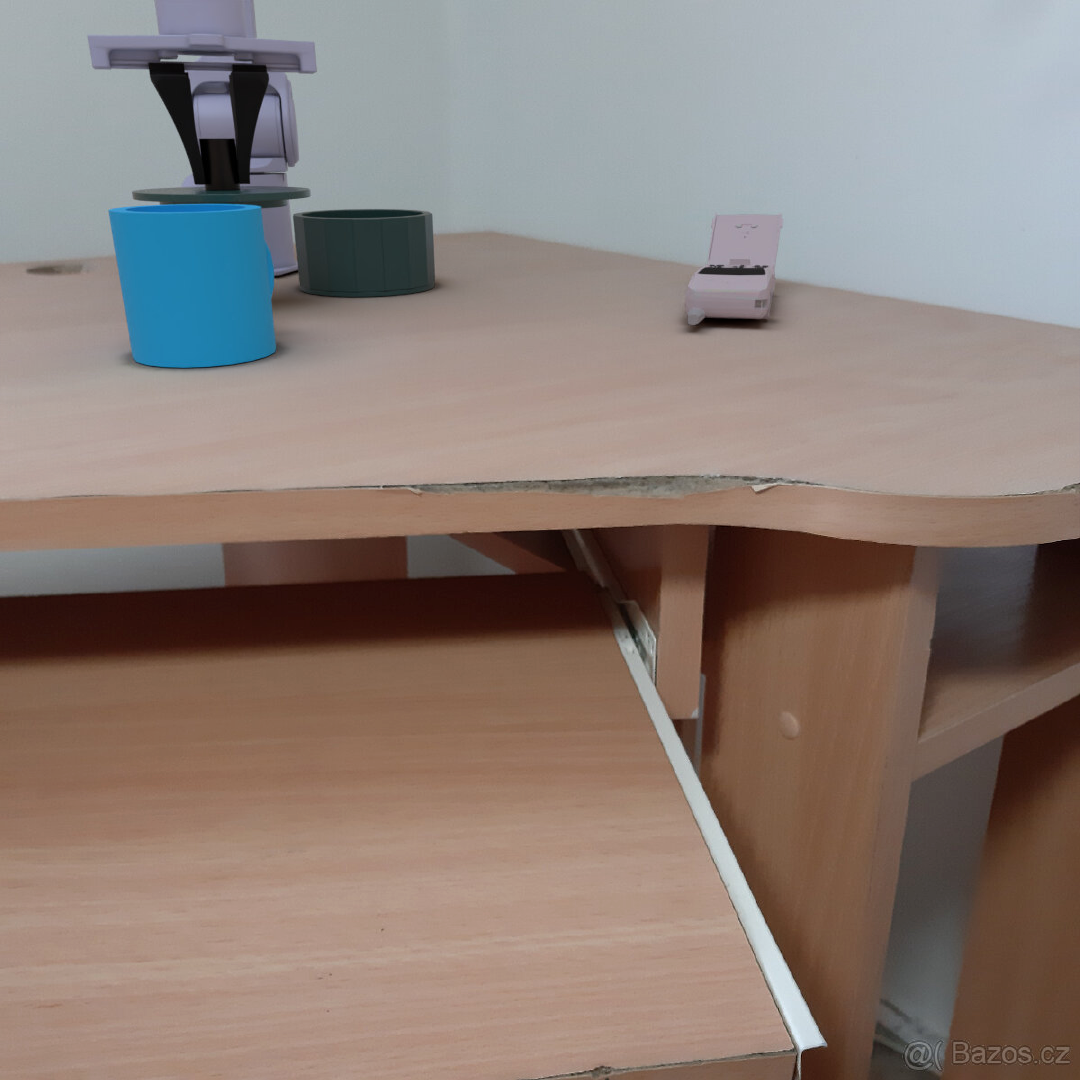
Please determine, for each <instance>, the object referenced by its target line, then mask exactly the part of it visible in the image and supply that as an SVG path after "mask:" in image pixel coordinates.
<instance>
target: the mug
mask: <svg viewBox="0 0 1080 1080" xmlns="http://www.w3.org/2000/svg"><path fill="white" fill-rule="evenodd" d="M107 212H108V216H109V217H108V218H109V223H110V230H111V234H112V239H113V240H112V241H113V247H114V248H113V249H114V252H115V253H114V254H115V260H116V264H117V272H118V278H119V283H120V289H121V295H122V301H123V307H124V313H125V319H126V326H127V331H128V337H129V343H130V349H131V356H132V359H133V360H134V361H135V362H136V363H139V364H141V365H145V366H151V367H152V366H153V367H158V368H159V367H160V368H178V369H179V368H182V369H188V368H189V369H190V368H210V367H220V366H230V365H235V364H236V365H238V364H242V363H247V362H248V363H249V362H253V361H256V360H259V359H263V358H267V357H269V356H271V355H272V354H274V353H276V350H277V342H276V334H275V331H276V330H275V324H274V323H275V322H274V314H273V304H272V299H273V292H274V288H275V276H274V266H273V261H272V257H271V252H270V250H269V248H268V246H267V243H266V241H265V238H264V229H263V219H262V210H261V207H260V206H256V205H244V204H170V205H160V204H151V205H150V204H149V205H148V204H147V205H131V206H122V207H116V208H115V207H114V208H110V209H108V210H107Z"/></svg>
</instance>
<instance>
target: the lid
mask: <svg viewBox="0 0 1080 1080" xmlns="http://www.w3.org/2000/svg"><path fill="white" fill-rule="evenodd" d="M199 143H200V151H201V158H202V163H203V168H204V175H205V183H206V185H205V187H181V186H179V187H178V186H177V187H160V188H145V189H136V190H133V191H131V194H132V199H133V200H134V201H139V202H153V203H159V205H170V204H244V205H256V206H260V207H261V209H263V208H275V207H283V206H287V205H288V203H287V200H289V201H290V200H298V199H299V200H300V199H306V198H310V197H311V196H312V193H311V189H310V188H308V187H302V186H301V187H299V186H288V187H278V186H240V183H239V175H238V164H237V155H236V146H235V139H199Z"/></svg>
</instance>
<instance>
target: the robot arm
mask: <svg viewBox="0 0 1080 1080" xmlns="http://www.w3.org/2000/svg"><path fill="white" fill-rule="evenodd" d="M154 7H155V15H156V22H157V28H158V34H87V42H88V48H89V49H88V50H89V54H90V60H91V66H92V68H93V69H94V70H110V71H111V70H148V72H149V73H148V74H149V78H150V82H151V83H152V85H153V87H154V90H156V92H157V93H158V96H159V98H160V99H161V101H162V103H163V105H164V106H165V108H166V110H167V112H168V115H169V116H170V118H171V120H172V123H173V124H174V127H175V129H176V131H177V133H178V136H179V138H180V141H181V143H182V145H183V148H184V151H185V153H186V157H187V159H188V163H189V165H190V166H189V167H190V169H191V174H189V175H187V176H186V177H184V180H183V181H182V183H181V186H180V187H205V185H206V183H205V175H204V168H203V163H202V158H201V151H200V143H199V139H235V146H236V155H237V164H238V175H239V183H240V186H278V187H289V185H288V184H289V183H288V175H287V173H286V172H288V171H289V168H294V167H295V166H296V164H297V163H298V162H299V161H300V149H299V136H298V123H297V115H296V107H295V106H296V105H295V101H294V99H293V88H292V83H291V81H290V80H289V79H288V75H287V74H286V73H292V74H293V73H297V74H300V75H301V74H302V75H303V74H304V75H306V74H307V75H308V74H309V75H313V74H315V73H317V71H318V69H317V68H318V67H317V58H316V57H317V55H316V46H315V45H316V44H315V42H314V41H304V40H287V39H285V40H284V39H269V38H258V33H257V23H256V11H255V1H254V0H154ZM179 56H190V57H191V56H192V57H198V58H197V59H196V60H195V61H172V60H178V58H179ZM169 60H171V61H169ZM287 203H288V205H287V206H283V207H275V208H263V209H261V210H262V219H263V229H264V238H265V241H266V243H267V246H268V248H269V250H270V252H271V257H272V261H273V266H274V277H275V276H283V275H285V274H288V273H291V272H295V271H298V264H297V260H296V258H295V257H296V256H295V246H294V238H293V226H292V217H291V205H290V199H289V200H287Z"/></svg>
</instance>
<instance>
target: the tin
mask: <svg viewBox="0 0 1080 1080" xmlns="http://www.w3.org/2000/svg"><path fill="white" fill-rule="evenodd" d="M433 219H434V217H433V213H432V212H430V211H427V210H419V209H418V210H417V209H403V208H402V209H401V208H355V209H354V208H352V209H351V208H349V209H348V208H346V209H324V210H312V211H302V212H297V213H296V212H295V213H293V215H292V220H293V222H292V223H293V232H294V242H295V243H294V244H295V251H296V261H297V264H298V270H297V272H298V284H299V289H300V291H302V292H303V293H307V294H310V295H315V296H316V295H317V296H326V297H339V298H372V297H375V298H376V297H392V296H402V295H403V296H404V295H409V294H415V293H422V292H426V291H428V290H431V289H433V288H434V287H435V282H436V268H435V266H436V265H435V245H434V244H435V242H434V220H433Z"/></svg>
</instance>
